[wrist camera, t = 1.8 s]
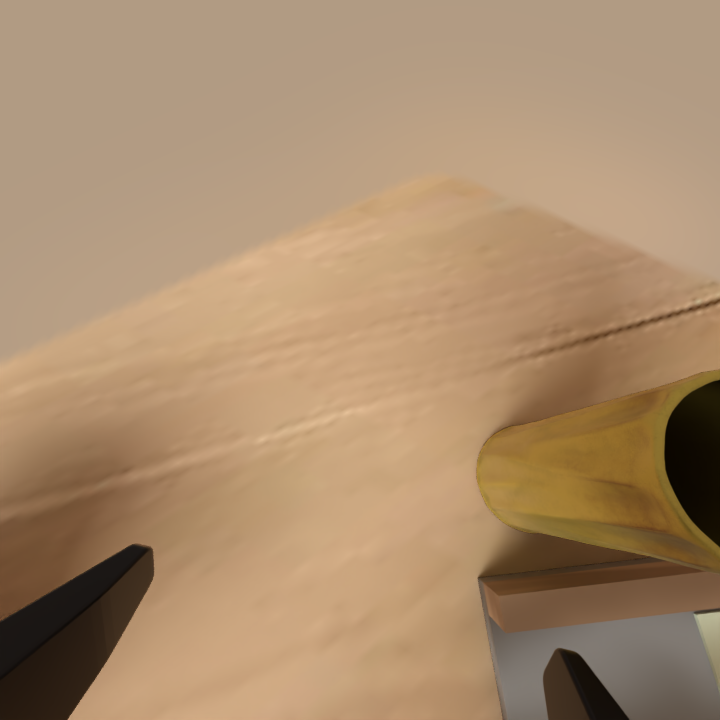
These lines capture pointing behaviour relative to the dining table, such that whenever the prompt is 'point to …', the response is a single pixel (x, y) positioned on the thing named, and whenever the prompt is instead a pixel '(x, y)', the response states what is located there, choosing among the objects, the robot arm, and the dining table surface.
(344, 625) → the dining table surface
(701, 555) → the vase
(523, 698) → the arena
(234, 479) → the dining table surface
